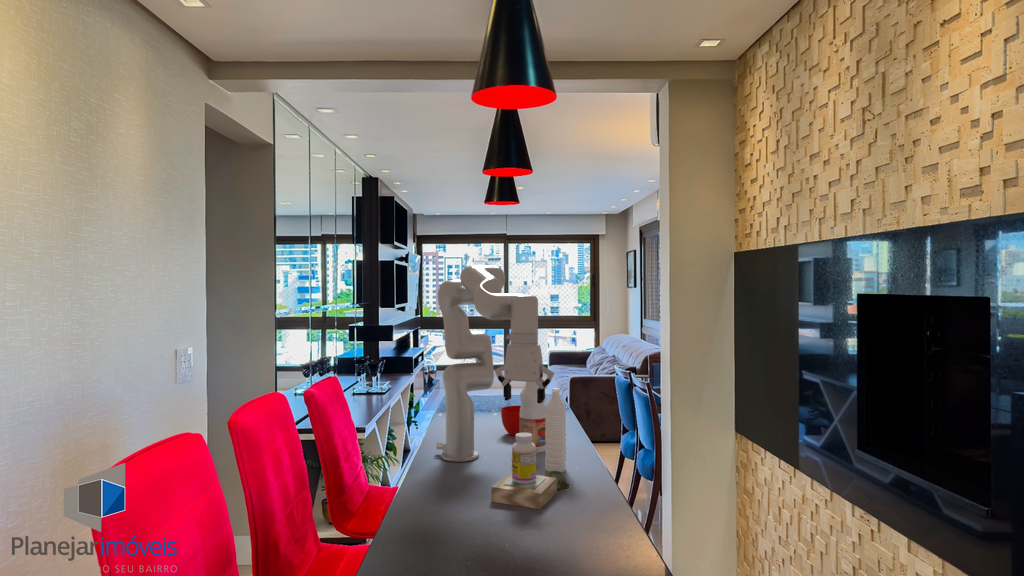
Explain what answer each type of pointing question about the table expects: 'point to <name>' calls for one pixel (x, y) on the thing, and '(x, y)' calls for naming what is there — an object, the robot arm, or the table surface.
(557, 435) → the water bottle
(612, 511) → the table surface
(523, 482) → the supplement bottle
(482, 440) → the table surface
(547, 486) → the plinth
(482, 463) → the table surface
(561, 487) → the seashell
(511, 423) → the ceramic cup
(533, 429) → the fruit juice
